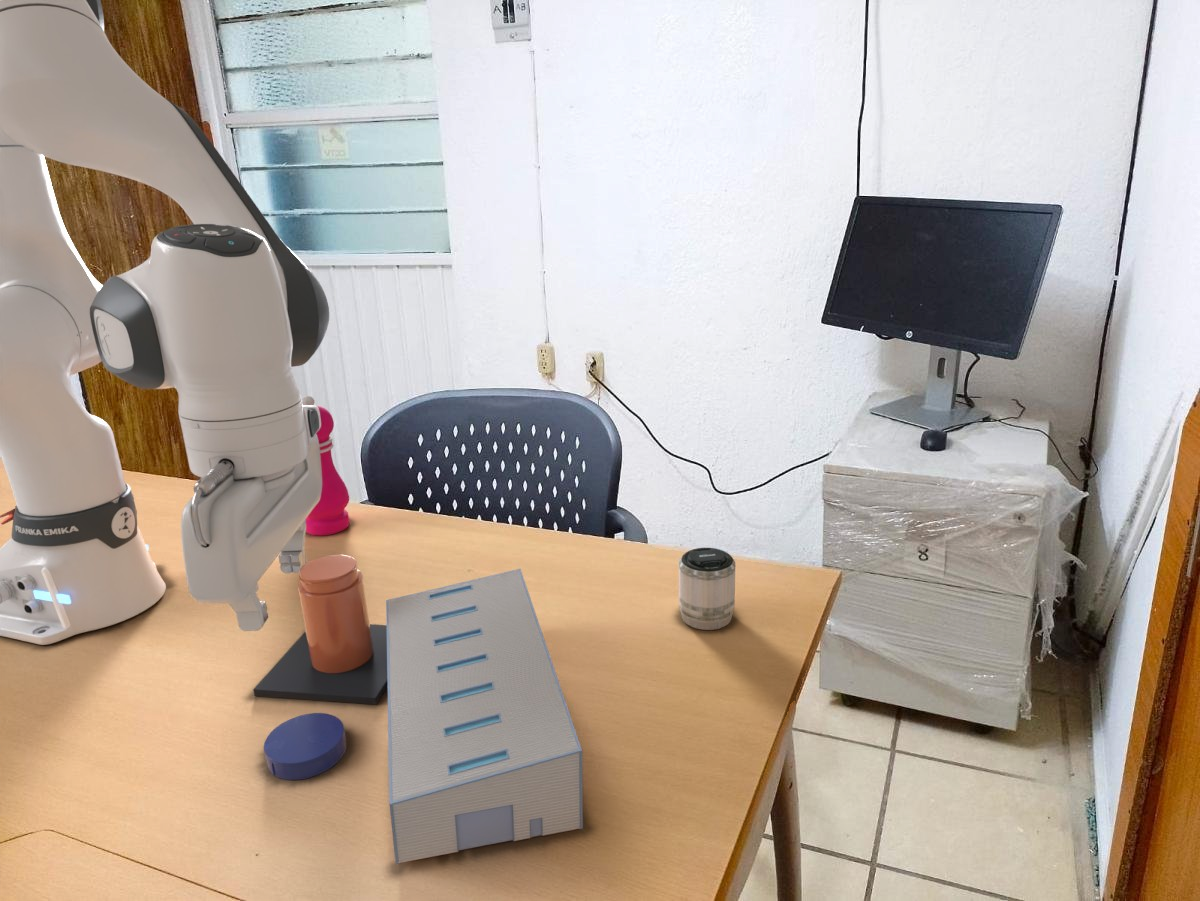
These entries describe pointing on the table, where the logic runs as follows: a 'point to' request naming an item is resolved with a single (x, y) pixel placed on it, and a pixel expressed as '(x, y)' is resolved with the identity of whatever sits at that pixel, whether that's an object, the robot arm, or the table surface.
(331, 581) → the jam jar
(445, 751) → the warehouse
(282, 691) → the mat
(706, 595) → the camera lens
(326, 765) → the jam lid
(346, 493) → the pepper mill
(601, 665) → the table surface
